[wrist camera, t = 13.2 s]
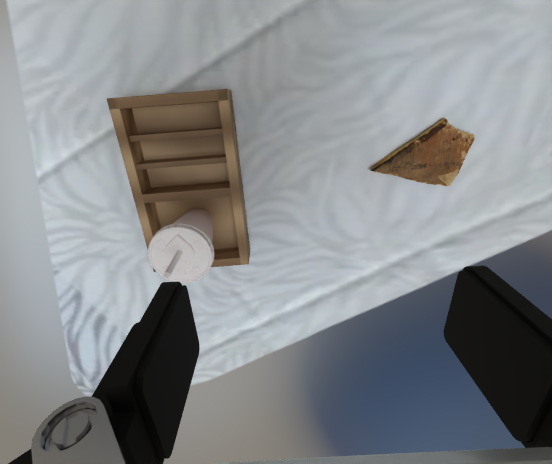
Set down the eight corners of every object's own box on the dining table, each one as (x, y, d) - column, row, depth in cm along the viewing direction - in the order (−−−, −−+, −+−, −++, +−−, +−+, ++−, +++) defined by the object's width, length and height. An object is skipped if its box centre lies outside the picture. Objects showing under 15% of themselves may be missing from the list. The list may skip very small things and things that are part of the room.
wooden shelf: (124, 99, 33) (106, 98, 30) (231, 90, 33) (226, 89, 30) (163, 256, 41) (153, 271, 38) (250, 249, 41) (248, 264, 38)
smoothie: (223, 198, 37) (203, 247, 24) (225, 244, 40) (207, 311, 27) (171, 196, 37) (122, 246, 24) (176, 243, 39) (134, 311, 26)
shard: (366, 168, 38) (371, 171, 36) (388, 104, 35) (394, 104, 33) (444, 186, 39) (451, 189, 38) (471, 126, 36) (481, 127, 35)
